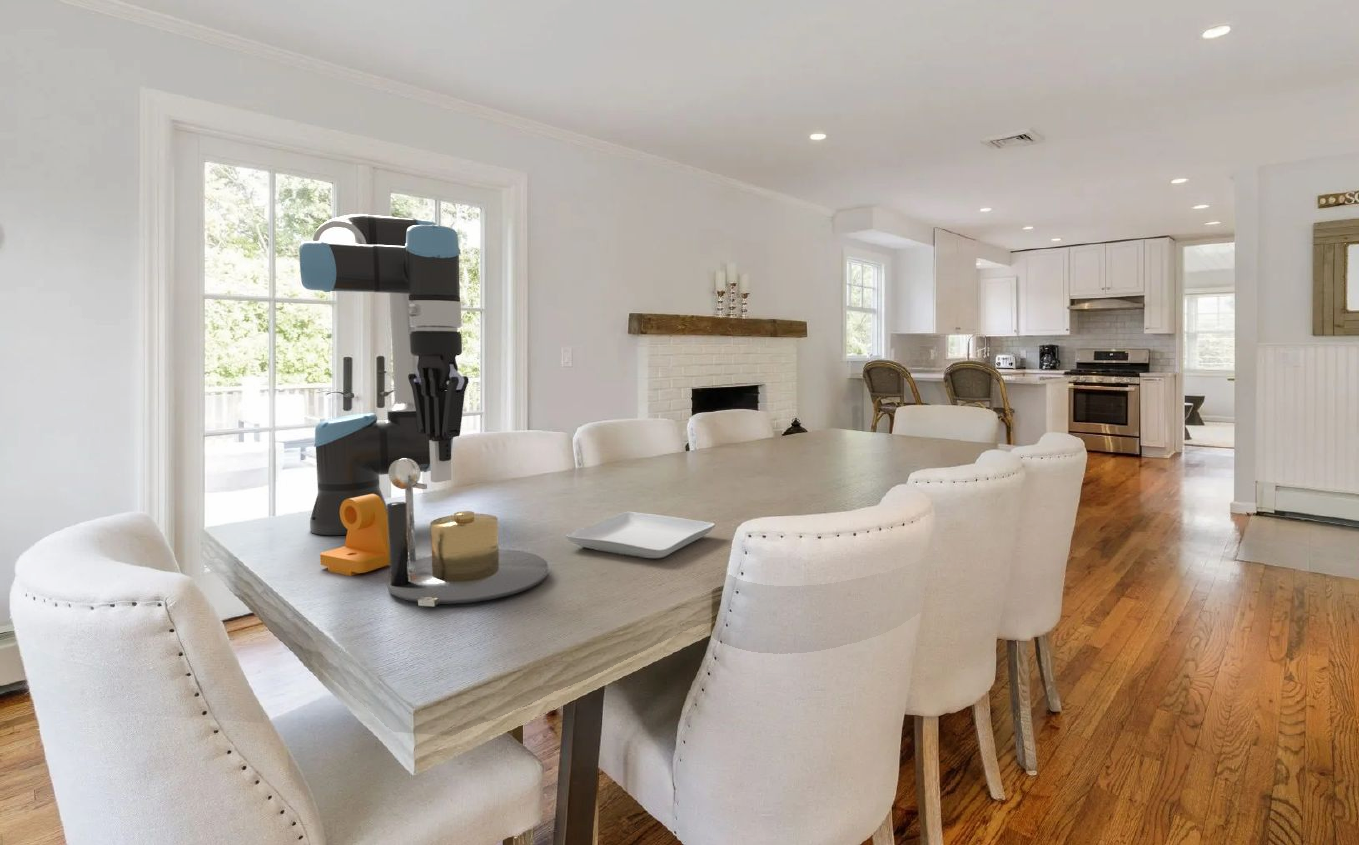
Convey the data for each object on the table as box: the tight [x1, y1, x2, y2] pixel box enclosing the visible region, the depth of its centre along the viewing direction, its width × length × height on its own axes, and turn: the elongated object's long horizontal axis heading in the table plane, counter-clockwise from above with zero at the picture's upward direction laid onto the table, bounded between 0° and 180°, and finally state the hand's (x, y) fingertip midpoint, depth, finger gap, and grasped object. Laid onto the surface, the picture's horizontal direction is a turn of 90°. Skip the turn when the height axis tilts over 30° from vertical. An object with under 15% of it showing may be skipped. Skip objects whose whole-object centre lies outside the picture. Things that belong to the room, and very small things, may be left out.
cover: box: [429, 510, 500, 581], centre depth 108 cm, size 10×10×9 cm
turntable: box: [386, 501, 549, 607], centre depth 108 cm, size 24×24×13 cm
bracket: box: [319, 494, 390, 577], centre depth 116 cm, size 11×7×12 cm, turn 63°
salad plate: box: [565, 511, 716, 559], centre depth 131 cm, size 21×21×3 cm
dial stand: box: [387, 458, 428, 563], centre depth 116 cm, size 7×4×18 cm, turn 83°
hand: (441, 480), depth 109 cm, fingers closed
